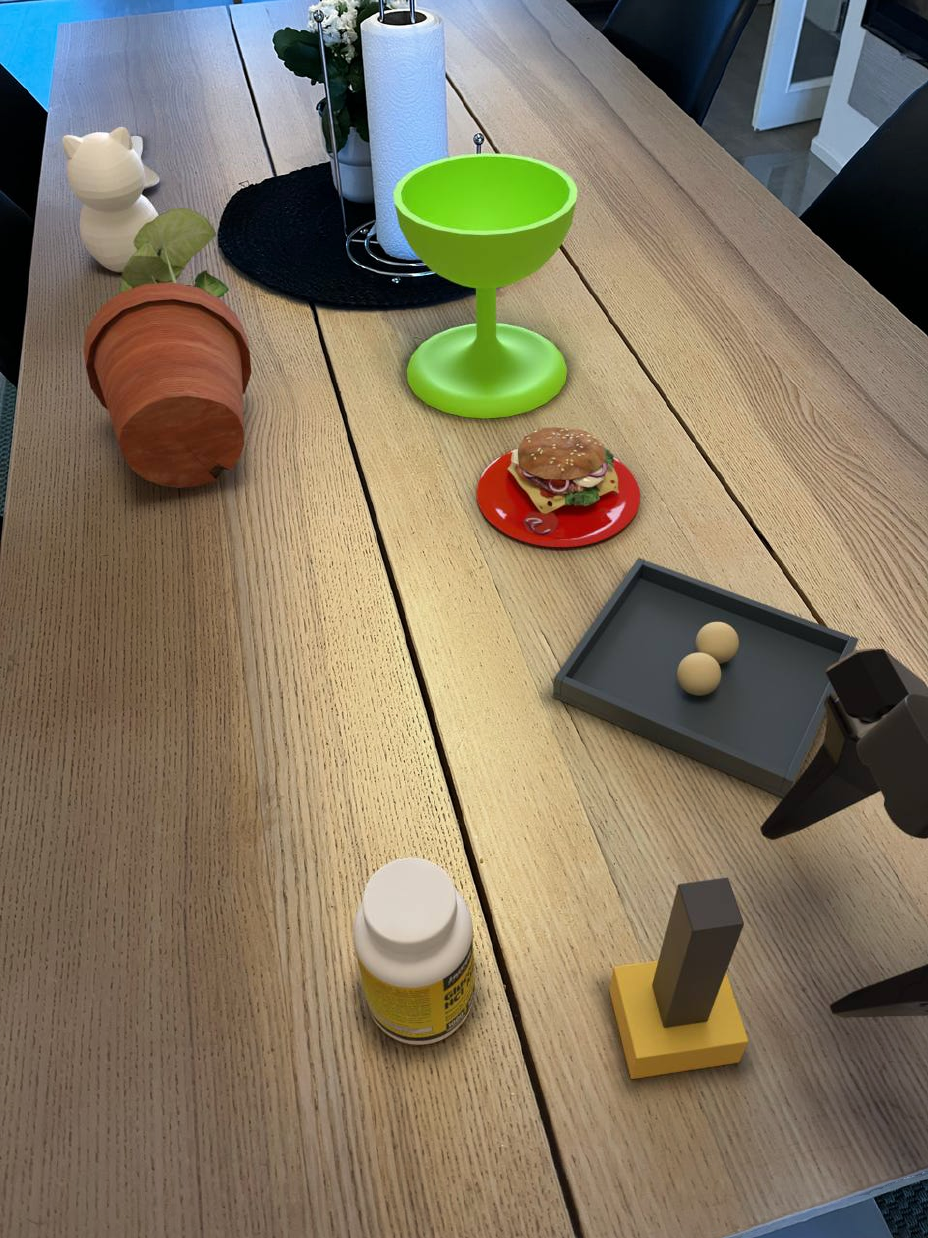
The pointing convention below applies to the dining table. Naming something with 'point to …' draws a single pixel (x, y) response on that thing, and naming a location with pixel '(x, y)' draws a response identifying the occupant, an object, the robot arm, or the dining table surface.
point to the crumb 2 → (699, 674)
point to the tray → (748, 690)
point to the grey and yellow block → (684, 989)
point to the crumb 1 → (718, 641)
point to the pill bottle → (415, 951)
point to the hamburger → (558, 490)
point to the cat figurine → (108, 194)
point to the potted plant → (171, 359)
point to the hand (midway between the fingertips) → (797, 918)
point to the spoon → (150, 176)
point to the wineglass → (486, 276)
